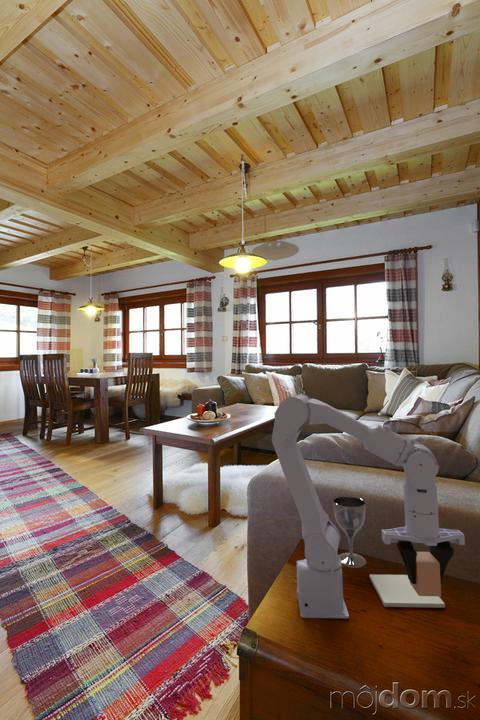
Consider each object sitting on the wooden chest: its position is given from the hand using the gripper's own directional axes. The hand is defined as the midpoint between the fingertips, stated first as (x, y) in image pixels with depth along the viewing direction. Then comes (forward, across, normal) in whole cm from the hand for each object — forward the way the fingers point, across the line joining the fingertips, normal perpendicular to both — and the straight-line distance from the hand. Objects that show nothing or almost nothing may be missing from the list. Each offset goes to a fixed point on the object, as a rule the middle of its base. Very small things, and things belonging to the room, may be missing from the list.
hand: (424, 581), depth 66 cm
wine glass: (+9, -8, +23) cm, 26 cm away
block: (+2, 0, 0) cm, 2 cm away
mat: (+8, 0, +10) cm, 13 cm away
